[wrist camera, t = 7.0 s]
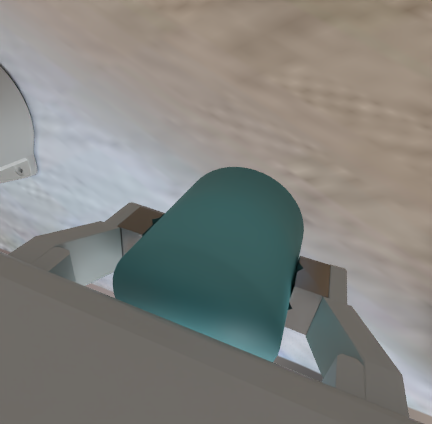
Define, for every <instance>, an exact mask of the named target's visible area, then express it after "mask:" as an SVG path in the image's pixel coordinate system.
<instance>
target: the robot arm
mask: <svg viewBox="0 0 432 424" xmlns="http://www.w3.org/2000/svg"><path fill="white" fill-rule="evenodd" d="M33 147H34V129H33V124H32V120H31V116H30V113H29V110H28V108H27V106H26V103H25V101H24V99H23V97H22V95H21V93H20V92H19V90H18V88H17V87H16V85H15V84H14V82H13V81H12V80H11V78H10V77H9V76H8V75H7V73H6V72H5V71H4V70H3V69H2V68H1V67H0V183H4V182H9V181H13V180H18V179H22V178H26V177H30V176H33V175H36V174H37V165H36V161H35V157H34V153H33ZM164 214H165V213H163V212H160V211H157V210H154V209H151V208H148V207H145V206H142V205H139V204H136V203H128V204H127V205H126V206H124V207H123V208H122V209H121V210H119V211H118V212H117V213H115V214H114V215H113V216H112V217H110V218H109V219H108V220H106V221H105V222H102V221H99V222H95V223H91V224H87V225H82V226H78V227H74V228H70V229H65V230H61V231H57V232H53V233H49V234H44V235H40V236H36V237H34V238H33V239H31V240H29V241H28V242H26V243H25V244H23V245H22V246H20V247H19V248H17V249H16V250H14V251H13V252H11V253H10V254H8V255H7V254H4V253H2V252H0V424H423V423H421V422H418V421H416V420H414V419H411V418H409V413H408V407H407V401H406V395H405V389H404V383H403V377H402V374H401V373H400V372H399V370H398V369H397V367H396V366H395V365H394V363H393V362H392V361H391V359H390V358H389V356H388V355H387V354H386V352H385V351H384V350H383V348H382V347H381V346H380V344H379V343H378V341H377V340H376V339H375V337H374V336H373V335H372V333H371V332H370V331H369V329H368V328H367V326H366V325H365V324H364V322H363V321H362V320H361V318H360V317H359V316H358V314H357V313H356V311H355V310H354V309H353V307H352V306H349V305H347V271H346V269H344V268H340V267H337V266H333V265H328V264H325V263H322V262H319V261H315V260H312V259H309V258H306V257H302V256H300V257H299V260H298V262H297V267H296V272H295V277H294V282H293V286H292V291H291V296H290V301H289V307H288V311H287V316H286V321H285V327H287V328H290V329H292V330H295V331H297V332H299V333H302V334H304V335H306V338H307V341H308V343H309V346H310V348H311V350H312V353H313V355H314V358H315V360H316V363H317V365H318V367H319V370H320V372H321V375H322V377H323V380H322V382H320V381H317V380H315V379H312V378H310V377H308V376H305V375H303V374H300V373H297V372H295V371H293V370H290V369H288V368H285V367H283V366H280V365H278V364H276V363H273V362H271V361H268V360H266V359H263V358H261V357H258V356H256V355H253V354H251V353H248V352H246V351H243V350H241V349H239V348H236V347H234V346H231V345H229V344H226V343H224V342H221V341H219V340H216V339H214V338H211V337H209V336H207V335H204V334H202V333H199V332H197V331H194V330H192V329H189V328H187V327H184V326H182V325H179V324H177V323H175V322H172V321H170V320H167V319H165V318H162V317H160V316H157V315H155V314H152V313H150V312H147V311H145V310H143V309H140V308H138V307H135V306H133V305H130V304H128V303H125V302H123V301H120V300H118V299H115V298H113V297H110V296H108V295H105V294H103V293H100V292H98V291H96V290H93V289H91V288H88V287H86V286H85V285H88V284H90V283H92V282H94V281H96V280H98V279H100V278H103V277H105V276H107V275H109V274H111V273H113V272H114V270H115V268H116V266H117V263H118V262H119V261H120V259H121V258H122V257H123V256H124V255H125V254H126V253H127V252H128V251H129V250H130V249H131V248H132V247H133V246H134V245H135V244H136V243H137V242H138V241H139V240H140V239H141V238H142V237H143V236H144V235H145V233H146V232H147V231H148V230H149V229H150V228H151V227H152V226H153V225H154V224H155V223H156V222H157V221H158V220H159V219H160V218H161V217H162V216H163V215H164Z"/></svg>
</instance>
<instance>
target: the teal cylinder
mask: <svg viewBox="0 0 432 424" xmlns="http://www.w3.org/2000/svg"><path fill="white" fill-rule="evenodd" d="M303 232H304V226H303V219H302V215H301V212H300V209H299V207H298V205H297V203H296V201H295V200H294V198H293V197H292V195H291V194H290V193H289V192H288V191H287V190H286V189H285V188H284V187H283V186H282V185H281V184H280V183H279V182H277V181H276V180H274V179H273V178H271V177H269V176H267V175H265V174H263V173H261V172H258V171H256V170H252V169H248V168H242V167H227V168H221V169H217V170H214V171H212V172H210V173H207V174H206V175H204V176H203V177H201V178H200V179H199V180H198V181H197V182H196V183H195V184H194V185H193V186H192V187H191V188H190V189H189V190H188V191H187V192H186V193H185V194H184V195H183V196H182V197H181V198H180V199H179V200H178V201H177V202H176V203H175V204H174V205H173V206H172V207H171V208H170V209H169V210H168V211H167V212H166V213H165V214H164V215H163V216H162V217H161V218H160V219H159V220H158V221H157V222H156V223H155V224H154V225H153V226H152V227H151V228H150V229H149V230H148V231H147V232H146V233H145V235H144V236H143V237H142V238H141V239H140V240H139V241H138V242H137V243H136V244H135V245H134V246H133V247H132V248H131V249H130V250H129V251H128V252H127V253H126V254H125V255H124V256H123V257H122V258H121V259H120V261H119V262H118V263H117V266H116V268H115V270H114V275H113V290H114V295H115V298H116V299H118V300H120V301H123V302H125V303H128V304H130V305H133V306H135V307H138V308H140V309H143V310H145V311H147V312H150V313H152V314H155V315H157V316H160V317H162V318H165V319H167V320H170V321H172V322H175V323H177V324H179V325H182V326H184V327H187V328H189V329H192V330H194V331H197V332H199V333H202V334H204V335H207V336H209V337H211V338H214V339H216V340H219V341H221V342H224V343H226V344H229V345H231V346H234V347H236V348H239V349H241V350H243V351H246V352H248V353H251V354H253V355H256V356H258V357H261V358H263V359H266V360H268V361H271V362H273V361H274V360H275V358H276V357H277V355H278V352H279V349H280V345H281V340H282V335H283V331H284V326H285V321H286V316H287V311H288V307H289V301H290V296H291V291H292V286H293V282H294V277H295V272H296V267H297V262H298V258H299V254H300V249H301V244H302V239H303Z"/></svg>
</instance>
